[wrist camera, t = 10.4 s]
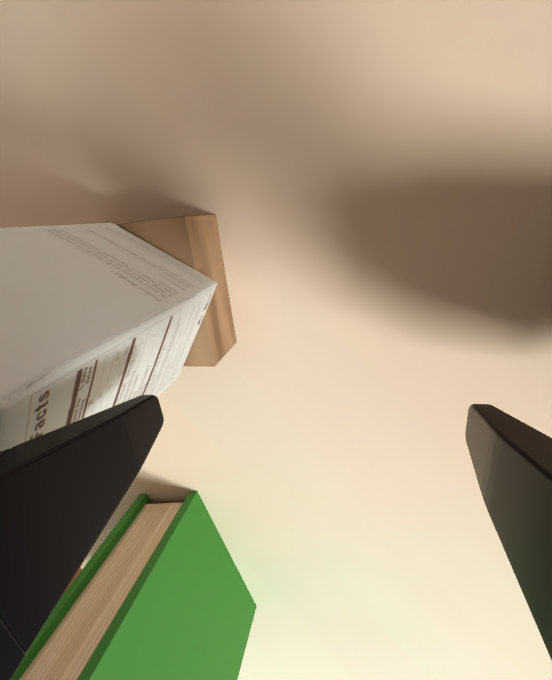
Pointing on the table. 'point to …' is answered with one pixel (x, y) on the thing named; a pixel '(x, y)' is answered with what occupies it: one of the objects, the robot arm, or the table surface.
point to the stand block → (206, 257)
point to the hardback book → (149, 604)
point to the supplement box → (88, 323)
